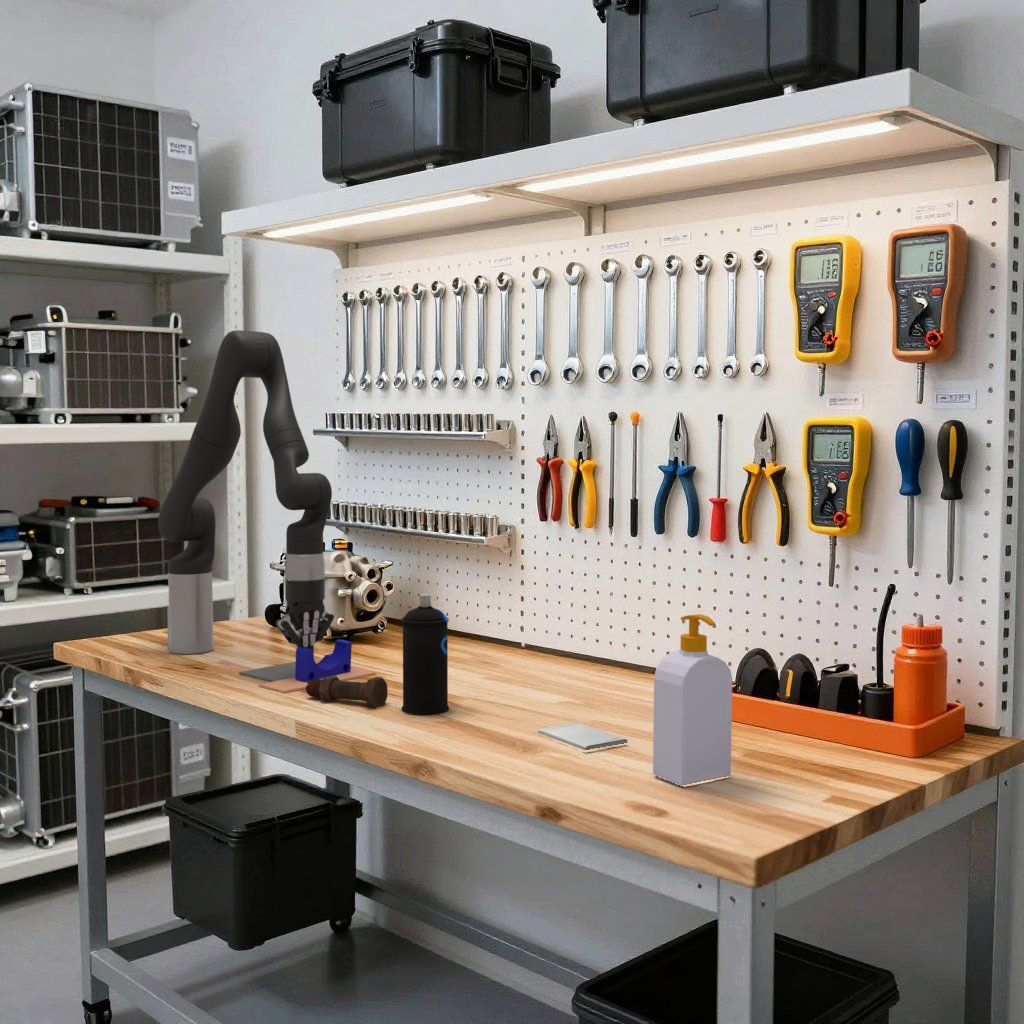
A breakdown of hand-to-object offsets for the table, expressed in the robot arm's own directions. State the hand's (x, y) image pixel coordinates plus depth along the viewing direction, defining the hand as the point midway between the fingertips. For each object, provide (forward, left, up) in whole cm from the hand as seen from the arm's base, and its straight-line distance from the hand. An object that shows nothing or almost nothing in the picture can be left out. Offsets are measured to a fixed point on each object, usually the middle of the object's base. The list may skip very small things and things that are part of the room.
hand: (305, 664), depth 224 cm
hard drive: (+68, +1, -3) cm, 68 cm away
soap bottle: (+92, -4, -3) cm, 92 cm away
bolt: (+21, -8, -3) cm, 23 cm away
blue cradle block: (+2, +2, -2) cm, 4 cm away
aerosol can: (+36, -2, -3) cm, 36 cm away
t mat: (-2, 0, -3) cm, 3 cm away
